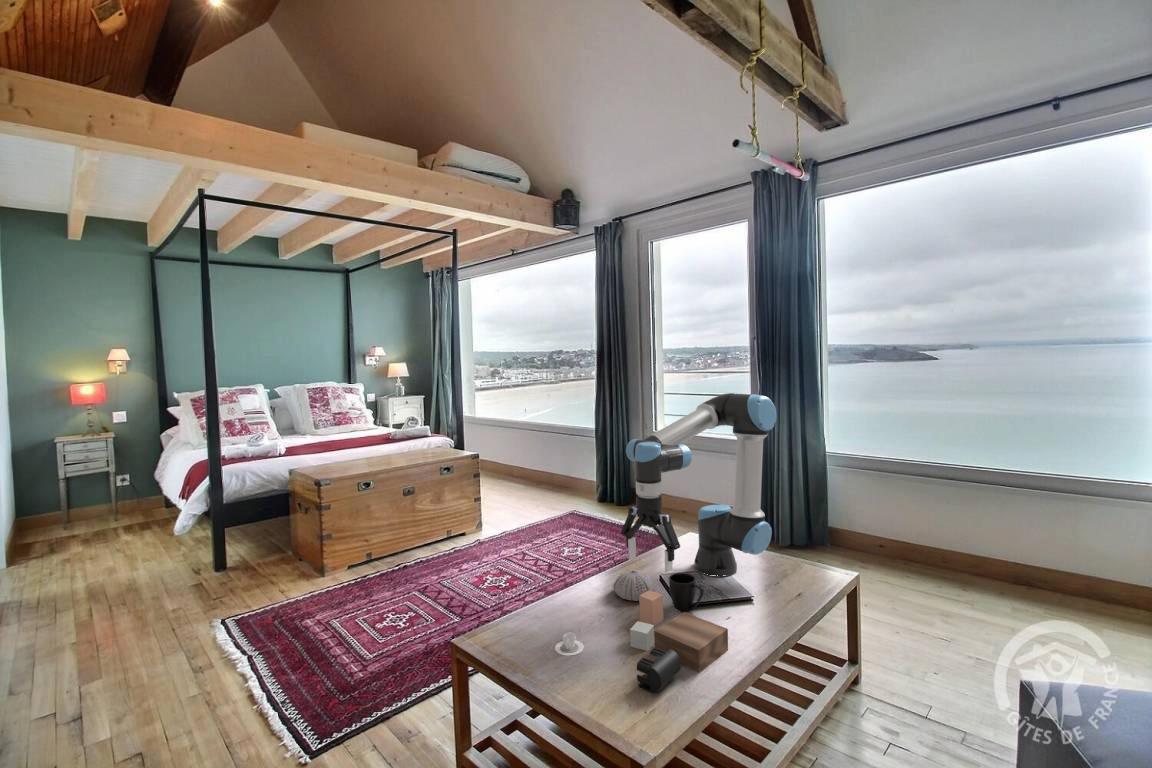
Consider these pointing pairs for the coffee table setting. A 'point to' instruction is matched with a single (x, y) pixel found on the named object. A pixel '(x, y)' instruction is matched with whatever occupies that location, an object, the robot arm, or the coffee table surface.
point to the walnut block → (692, 640)
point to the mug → (684, 591)
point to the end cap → (658, 669)
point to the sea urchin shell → (632, 584)
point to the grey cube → (642, 635)
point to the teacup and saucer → (569, 644)
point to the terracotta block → (651, 607)
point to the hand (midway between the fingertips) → (650, 565)
